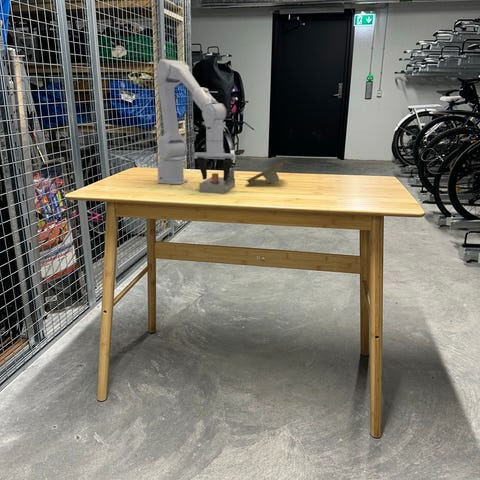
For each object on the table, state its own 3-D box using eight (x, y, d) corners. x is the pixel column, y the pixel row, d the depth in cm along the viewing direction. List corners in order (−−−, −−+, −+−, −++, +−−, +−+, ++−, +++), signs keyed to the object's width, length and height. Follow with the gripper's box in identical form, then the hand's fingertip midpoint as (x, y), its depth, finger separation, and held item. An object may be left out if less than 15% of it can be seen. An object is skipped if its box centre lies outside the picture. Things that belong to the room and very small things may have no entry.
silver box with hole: (199, 192, 148) (198, 172, 145) (212, 184, 161) (211, 166, 158) (224, 193, 145) (224, 173, 143) (235, 186, 158) (235, 167, 156)
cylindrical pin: (212, 189, 152) (212, 173, 150) (218, 190, 151) (218, 173, 149) (211, 191, 149) (211, 174, 148) (217, 191, 149) (217, 174, 147)
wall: (259, 198, 157) (290, 172, 154) (244, 180, 156) (275, 154, 153) (262, 196, 173) (290, 172, 170) (248, 179, 172) (276, 155, 170)
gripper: (190, 140, 143) (191, 180, 147) (231, 142, 139) (231, 182, 144) (197, 139, 149) (198, 177, 154) (237, 140, 146) (237, 179, 150)
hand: (215, 179), depth 149 cm, fingers open, 7 cm apart
